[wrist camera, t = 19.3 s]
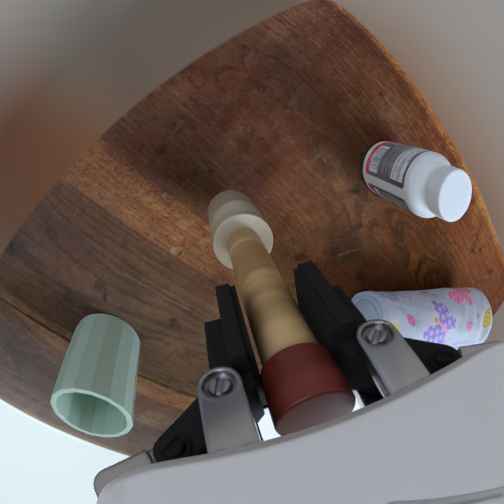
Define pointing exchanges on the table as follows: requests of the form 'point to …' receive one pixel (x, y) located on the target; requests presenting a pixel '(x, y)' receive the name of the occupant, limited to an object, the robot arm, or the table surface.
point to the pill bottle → (417, 180)
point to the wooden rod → (277, 322)
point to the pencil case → (431, 314)
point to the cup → (99, 377)
